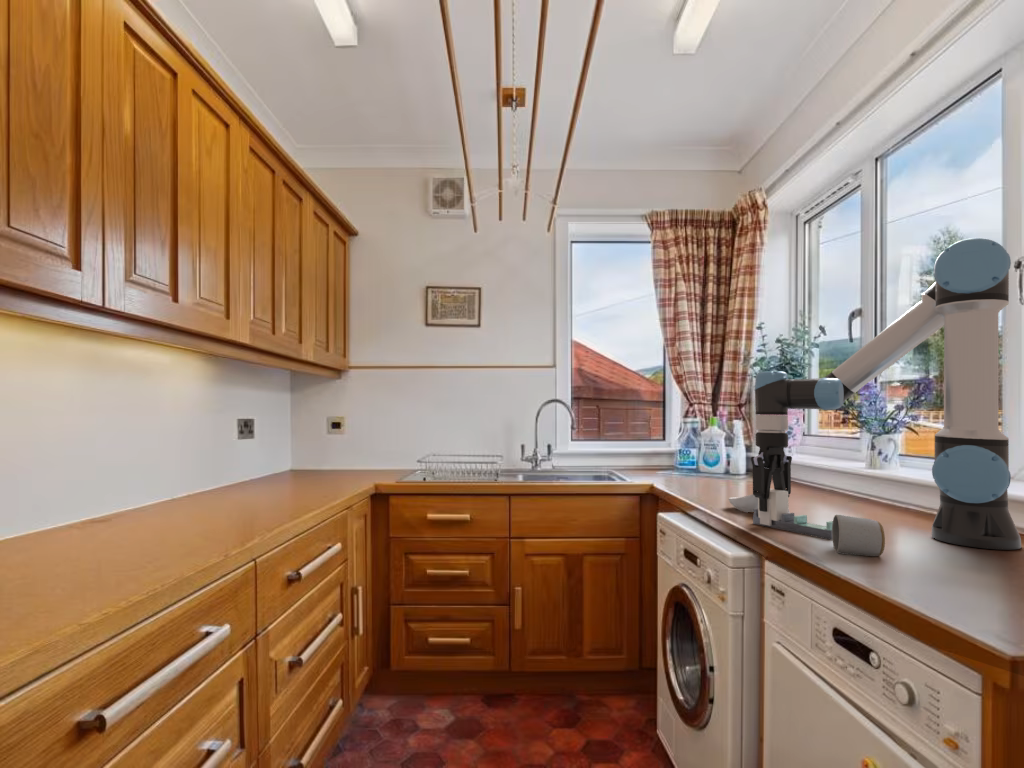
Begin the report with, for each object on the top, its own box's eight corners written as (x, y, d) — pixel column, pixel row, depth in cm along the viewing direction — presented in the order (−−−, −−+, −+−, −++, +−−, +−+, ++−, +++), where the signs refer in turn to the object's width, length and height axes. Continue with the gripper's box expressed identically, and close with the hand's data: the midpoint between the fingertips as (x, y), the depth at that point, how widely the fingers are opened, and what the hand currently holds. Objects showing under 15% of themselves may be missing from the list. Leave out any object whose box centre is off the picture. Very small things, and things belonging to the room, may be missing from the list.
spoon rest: (721, 508, 163) (721, 484, 163) (758, 508, 163) (758, 484, 164) (763, 523, 139) (762, 496, 139) (806, 523, 140) (805, 496, 140)
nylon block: (788, 519, 134) (788, 491, 134) (776, 520, 131) (775, 492, 132) (770, 515, 138) (770, 488, 139) (758, 517, 136) (757, 489, 136)
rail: (841, 537, 122) (840, 521, 122) (831, 539, 120) (830, 522, 120) (762, 522, 140) (762, 507, 140) (753, 523, 138) (752, 508, 138)
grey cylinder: (887, 560, 103) (886, 520, 103) (839, 556, 105) (838, 517, 106) (872, 549, 113) (870, 512, 113) (828, 545, 115) (826, 509, 116)
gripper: (779, 431, 144) (780, 517, 143) (736, 431, 135) (736, 523, 134) (806, 432, 137) (807, 523, 136) (762, 432, 129) (763, 529, 127)
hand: (772, 523), depth 135 cm, fingers closed on nylon block, 5 cm apart
